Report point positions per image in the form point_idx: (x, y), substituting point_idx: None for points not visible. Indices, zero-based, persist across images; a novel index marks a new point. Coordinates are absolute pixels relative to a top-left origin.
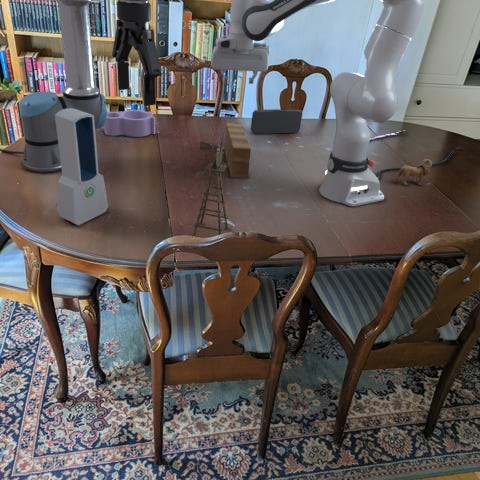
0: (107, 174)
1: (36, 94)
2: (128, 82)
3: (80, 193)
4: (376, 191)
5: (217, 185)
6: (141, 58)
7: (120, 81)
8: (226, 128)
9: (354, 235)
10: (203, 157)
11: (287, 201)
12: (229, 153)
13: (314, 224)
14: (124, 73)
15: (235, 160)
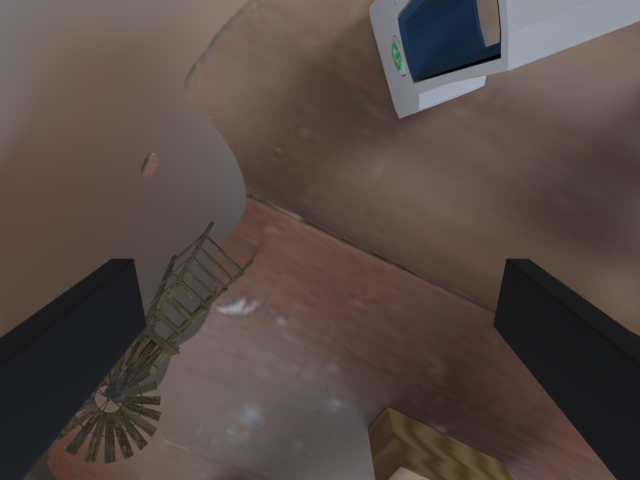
0: (559, 197)
1: None
2: (519, 350)
3: (389, 18)
4: None
5: (146, 318)
6: None
7: (540, 297)
8: None
9: None
10: (495, 410)
11: (254, 431)
12: (437, 453)
13: (166, 420)
14: (575, 375)
15: (390, 443)
